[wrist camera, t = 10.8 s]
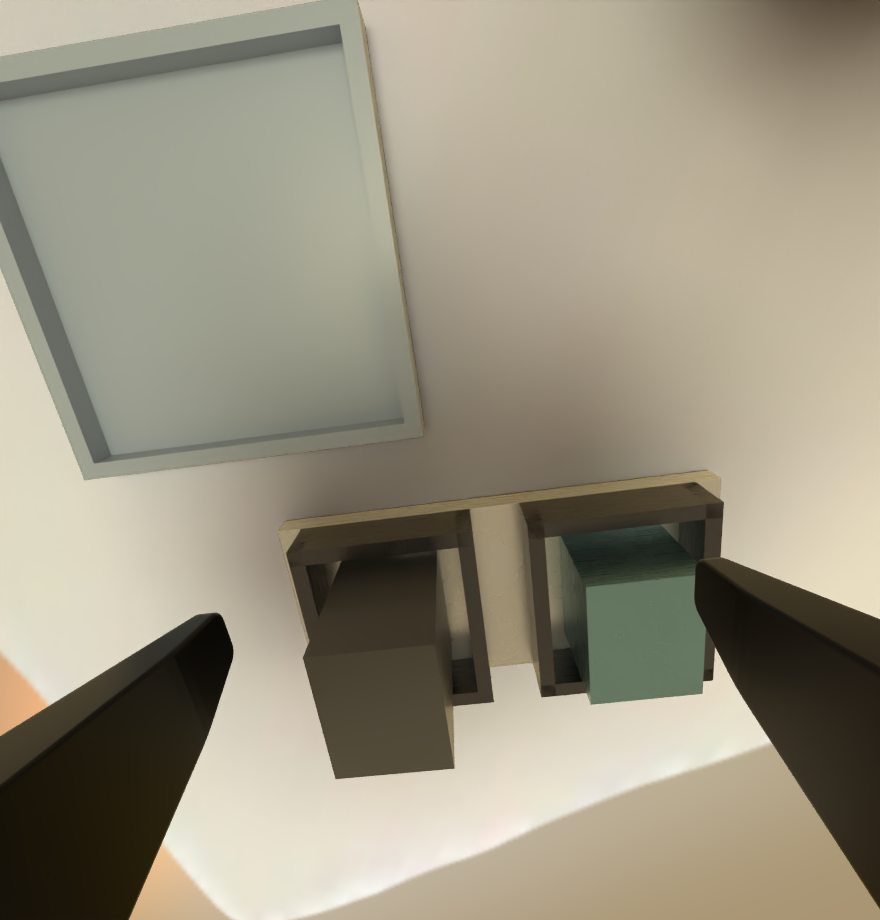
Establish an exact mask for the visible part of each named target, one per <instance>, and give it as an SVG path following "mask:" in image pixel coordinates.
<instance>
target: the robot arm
mask: <svg viewBox="0 0 880 920" xmlns="http://www.w3.org/2000/svg"><path fill="white" fill-rule="evenodd" d="M694 602H695V606H696V609H697V612H698V614H699V616H700V618H701V620H702V622H703V624H704V626H705V628H706V630H707V632H708V634H709V635H710V637H711V639H712V641H713V643H714V645H715V647H716V649H717V651H718V653H719V655H720V657H721V659H722V661H723V663H724V665H725V667H726V669H727V671H728V673H729V675H730V677H731V678H732V680H733V682H734V684H735V686H736V688H737V689H738V691H739V693H740V694H741V696H742V697H743V699H744V701H745V702H746V704H747V705H748V707H749V708H750V710H751V712H752V713H753V715H754V716H755V718H756V719H757V721H758V722H759V724H760V725H761V727H762V728H763V730H764V732H765V733H766V735H767V736H768V738H769V739H770V741H771V742H772V744H773V745H774V747H775V748H776V750H777V752H778V753H779V755H780V756H781V758H782V759H783V760H784V762H785V764H786V765H787V767H788V769H789V770H790V772H791V773H792V775H793V776H794V778H795V779H796V781H797V782H798V784H799V785H800V787H801V789H802V790H803V792H804V793H805V795H806V796H807V798H808V799H809V801H810V802H811V804H812V805H813V807H814V808H815V810H816V812H817V813H818V815H819V816H820V818H821V819H822V821H823V822H824V824H825V826H826V827H827V829H828V830H829V832H830V833H831V834H832V836H833V838H834V839H835V841H836V842H837V844H838V846H839V847H840V849H841V850H842V852H843V853H844V855H845V856H846V858H847V859H848V861H849V862H850V864H851V866H852V867H853V869H854V870H855V872H856V873H857V875H858V876H859V878H860V879H861V881H862V882H863V884H864V886H865V887H866V889H867V890H868V892H869V893H870V895H871V896H872V898H873V899H874V901H875V902H876V904H877V906H878V907H879V909H880V619H878V618H875V617H873V616H870V615H868V614H865V613H863V612H860V611H858V610H855V609H853V608H850V607H847V606H845V605H842V604H840V603H837V602H835V601H832V600H830V599H827V598H824V597H822V596H819V595H817V594H814V593H812V592H809V591H807V590H804V589H801V588H799V587H796V586H794V585H791V584H789V583H786V582H784V581H781V580H779V579H776V578H773V577H771V576H768V575H766V574H763V573H761V572H758V571H756V570H753V569H751V568H748V567H745V566H743V565H740V564H738V563H735V562H733V561H730V560H728V559H725V558H721V557H718V558H709V559H701V560H699V561H698V562H697V564H696V567H695V588H694ZM232 660H233V645H232V642H231V639H230V636H229V634H228V631H227V628H226V625H225V622H224V620H223V618H222V616H221V615H220V614H218V613H207V614H199V615H196V616H194V617H192V618H191V619H189V620H187V621H186V622H184V623H183V624H181V625H179V626H178V627H176V628H175V629H173V630H171V631H170V632H168V633H166V634H165V635H163V636H162V637H160V638H158V639H157V640H155V641H153V642H152V643H150V644H149V645H147V646H145V647H144V648H142V649H141V650H139V651H137V652H136V653H134V654H132V655H131V656H129V657H128V658H126V659H124V660H123V661H121V662H119V663H118V664H116V665H115V666H113V667H111V668H110V669H108V670H107V671H105V672H103V673H102V674H100V675H98V676H97V677H95V678H94V679H92V680H90V681H89V682H87V683H86V684H84V685H82V686H81V687H79V688H77V689H76V690H74V691H73V692H71V693H69V694H68V695H66V696H64V697H63V698H61V699H60V700H58V701H56V702H55V703H53V704H52V705H50V706H48V707H47V708H45V709H43V710H42V711H40V712H39V713H37V714H35V715H34V716H32V717H30V718H29V719H27V720H26V721H24V722H22V723H21V724H20V725H18V726H16V727H14V728H13V729H11V730H9V731H8V732H6V733H5V734H3V735H2V736H0V920H129V918H130V916H131V913H132V911H133V909H134V906H135V904H136V902H137V900H138V897H139V895H140V892H141V890H142V888H143V886H144V883H145V881H146V879H147V876H148V874H149V872H150V869H151V867H152V865H153V862H154V860H155V858H156V855H157V853H158V851H159V848H160V846H161V844H162V842H163V839H164V837H165V835H166V832H167V830H168V828H169V825H170V823H171V821H172V818H173V816H174V814H175V811H176V809H177V807H178V805H179V802H180V800H181V798H182V795H183V793H184V791H185V788H186V786H187V784H188V781H189V779H190V777H191V774H192V772H193V770H194V767H195V765H196V763H197V760H198V758H199V756H200V753H201V751H202V749H203V746H204V744H205V741H206V739H207V736H208V733H209V731H210V728H211V725H212V722H213V719H214V716H215V713H216V710H217V707H218V703H219V700H220V697H221V694H222V691H223V688H224V685H225V682H226V679H227V676H228V672H229V669H230V666H231V663H232Z"/></svg>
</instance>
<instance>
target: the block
mask: <svg viewBox="0 0 880 920" xmlns="http://www.w3.org/2000/svg"><path fill="white" fill-rule="evenodd" d="M303 660H304V663H305V667H306V671H307V675H308V678H309V682H310V686H311V689H312V693H313V697H314V701H315V704H316V708H317V712H318V715H319V719H320V723H321V727H322V730H323V734H324V738H325V741H326V745H327V749H328V753H329V756H330V760H331V764H332V767H333V771H334V775H335V779H341V778H353V777H364V776H375V775H387V774H398V773H409V772H421V771H432V770H444V769H455V768H454V725H453V682H452V643H451V636H450V629H449V623H448V616H447V609H446V602H445V595H444V588H443V581H442V574H441V568H440V561H439V554H438V550H435V551H427V552H418V553H409V554H401V555H392V556H383V557H375V558H366V559H357V560H349V561H341V563H340V565H339V568H338V570H337V573H336V576H335V578H334V581H333V583H332V586H331V588H330V591H329V593H328V596H327V598H326V601H325V603H324V606H323V608H322V611H321V614H320V616H319V619H318V621H317V624H316V626H315V629H314V631H313V634H312V636H311V639H310V641H309V644H308V646H307V649H306V652H305V654H304V657H303Z"/></svg>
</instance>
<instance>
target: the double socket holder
mask: <svg viewBox="0 0 880 920" xmlns="http://www.w3.org/2000/svg"><path fill="white" fill-rule="evenodd" d="M720 489H721V478H719V477H718V476H716V475H714V474H713V473H711V472H710V471H708V470H705V471H697V472H689V473H681V474H672V475H664V476H656V477H647V478H639V479H631V480H622V481H614V482H606V483H597V484H589V485H581V486H572V487H564V488H556V489H548V490H539V491H531V492H523V493H514V494H506V495H498V496H489V497H481V498H473V499H464V500H456V501H448V502H440V503H431V504H423V505H415V506H406V507H398V508H390V509H381V510H373V511H365V512H356V513H348V514H340V515H331V516H323V517H315V518H307V519H298V520H290V521H285V522H284V523H283V525H282V526H281V528H280V529H279V530H278V535H279V539H280V543H281V546H282V550H283V554H284V558H285V561H286V565H287V569H288V572H289V576H290V580H291V583H292V587H293V591H294V595H295V598H296V602H297V606H298V609H299V613H300V617H301V621H302V624H303V628H304V632H305V635H306V639H307V643H308V644H309V641H310V639H311V636H312V634H313V631H314V629H315V626H316V624H317V621H318V619H319V616H320V614H321V611H322V608H323V606H324V603H325V601H326V598H327V596H328V593H329V591H330V588H331V586H332V583H333V581H334V578H335V576H336V573H337V570H338V568H339V565H340V563H341V561H349V560H357V559H366V558H375V557H383V556H392V555H401V554H409V553H418V552H427V551H435V550H438V554H439V561H440V568H441V574H442V581H443V588H444V595H445V602H446V609H447V616H448V623H449V629H450V636H451V643H452V682H453V706H459V705H469V704H479V703H489V702H494V700H493V692H492V684H491V676H490V668H489V667H495V666H505V665H514V664H524V663H533V665H534V669H535V673H536V677H537V681H538V685H539V689H540V693H541V697H550V696H560V695H570V694H580V693H587V695H588V698H589V701H590V704H602V703H612V702H622V701H632V700H643V699H653V698H663V697H673V696H684V695H694V694H702V692H703V681H712V680H713V670H714V654H715V645H714V643H713V641H712V639H711V637H710V635H709V634H708V632H707V630H706V628H705V626H704V624H703V622H702V620H701V618H700V616H699V614H698V612H697V609H696V606H695V602H694V588H695V567H696V564H697V562H698V561H699V560H701V559H709V558H718V557H720V555H721V539H722V522H723V506H724V502H723V501H721V500H720Z"/></svg>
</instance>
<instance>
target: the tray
mask: <svg viewBox="0 0 880 920" xmlns="http://www.w3.org/2000/svg"><path fill="white" fill-rule="evenodd" d="M0 268H1V271H2V273H3V276H4V279H5V281H6V284H7V286H8V289H9V291H10V294H11V296H12V299H13V301H14V304H15V306H16V309H17V311H18V314H19V316H20V319H21V321H22V324H23V326H24V329H25V331H26V334H27V336H28V339H29V341H30V344H31V346H32V349H33V351H34V354H35V356H36V359H37V361H38V364H39V367H40V369H41V372H42V374H43V377H44V379H45V382H46V384H47V387H48V389H49V392H50V394H51V397H52V399H53V402H54V404H55V407H56V409H57V412H58V414H59V417H60V419H61V422H62V424H63V427H64V429H65V432H66V434H67V437H68V439H69V442H70V444H71V447H72V450H73V452H74V455H75V457H76V460H77V462H78V465H79V467H80V470H81V472H82V475H83V477H84V480H90V479H98V478H105V477H113V476H121V475H129V474H137V473H145V472H153V471H160V470H168V469H176V468H184V467H192V466H200V465H208V464H215V463H223V462H231V461H239V460H247V459H255V458H263V457H270V456H278V455H286V454H294V453H302V452H310V451H317V450H325V449H333V448H341V447H349V446H357V445H365V444H372V443H380V442H388V441H396V440H404V439H412V438H420V437H423V433H424V420H423V413H422V406H421V400H420V393H419V386H418V379H417V373H416V366H415V359H414V353H413V346H412V339H411V332H410V326H409V319H408V312H407V305H406V299H405V292H404V285H403V279H402V272H401V265H400V258H399V252H398V245H397V238H396V231H395V225H394V218H393V211H392V205H391V198H390V191H389V184H388V178H387V171H386V164H385V157H384V151H383V144H382V137H381V131H380V124H379V117H378V110H377V104H376V97H375V90H374V83H373V77H372V70H371V63H370V57H369V50H368V43H367V36H366V30H365V24H364V21H363V17H362V14H361V10H360V7H359V3H358V0H322V1H316V2H310V3H305V4H299V5H293V6H288V7H282V8H276V9H270V10H265V11H259V12H253V13H248V14H242V15H236V16H230V17H225V18H219V19H213V20H208V21H202V22H196V23H190V24H185V25H179V26H173V27H168V28H162V29H156V30H150V31H145V32H139V33H133V34H127V35H122V36H116V37H110V38H105V39H99V40H93V41H87V42H82V43H76V44H70V45H65V46H59V47H53V48H47V49H42V50H36V51H30V52H25V53H19V54H13V55H7V56H2V57H0Z"/></svg>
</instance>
